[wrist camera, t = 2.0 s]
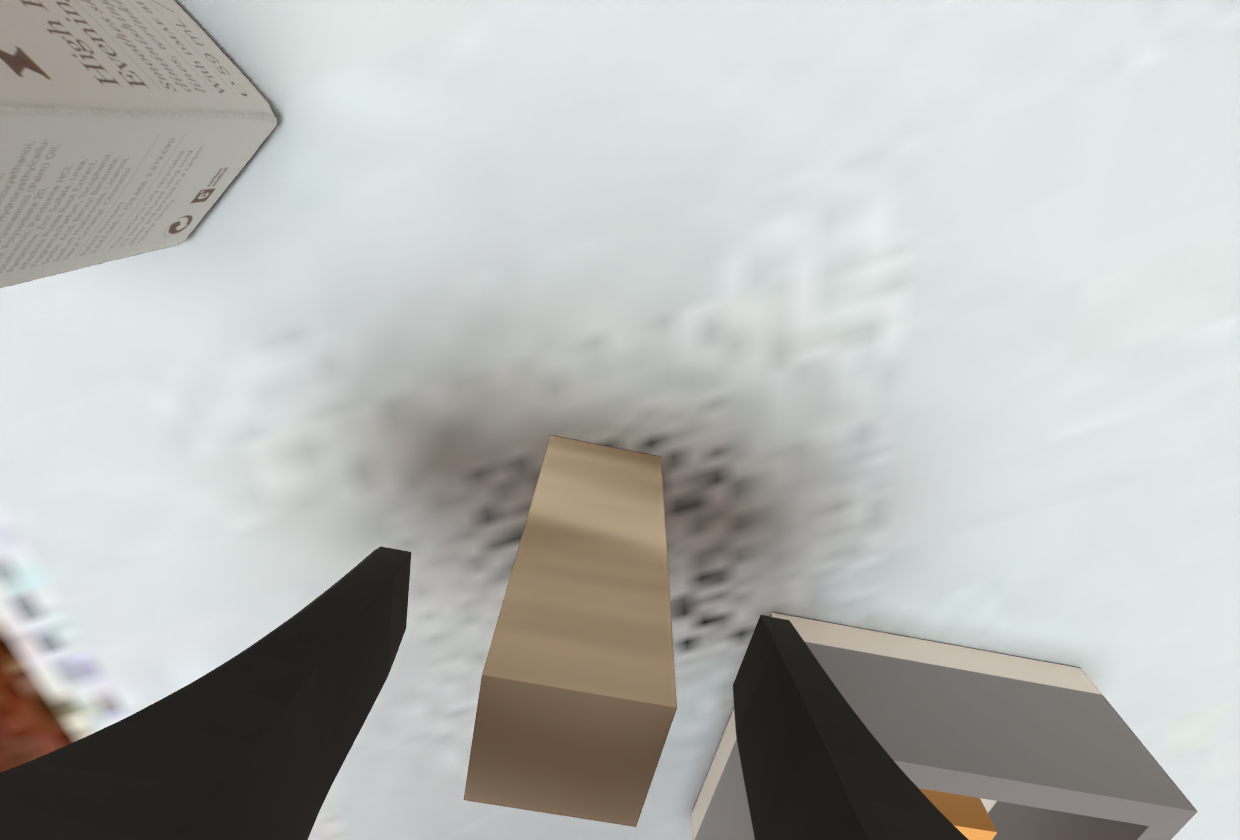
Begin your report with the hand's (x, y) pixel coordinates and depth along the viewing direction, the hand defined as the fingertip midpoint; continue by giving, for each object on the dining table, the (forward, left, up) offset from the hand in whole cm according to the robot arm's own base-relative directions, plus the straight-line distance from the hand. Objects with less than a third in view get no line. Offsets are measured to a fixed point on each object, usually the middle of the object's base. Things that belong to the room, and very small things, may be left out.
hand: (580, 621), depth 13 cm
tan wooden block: (0, 0, -5) cm, 5 cm away
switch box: (-8, -11, -5) cm, 15 cm away
